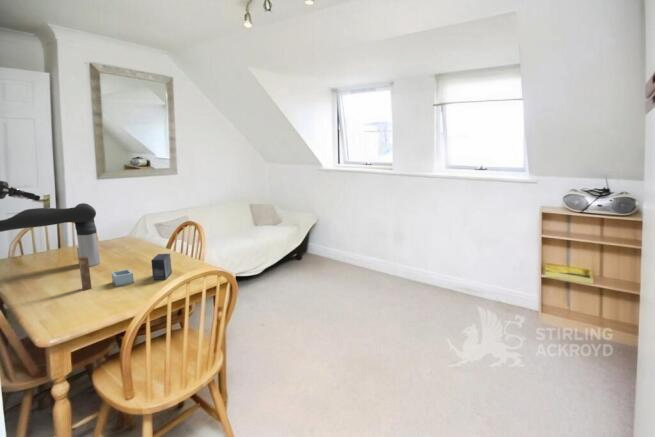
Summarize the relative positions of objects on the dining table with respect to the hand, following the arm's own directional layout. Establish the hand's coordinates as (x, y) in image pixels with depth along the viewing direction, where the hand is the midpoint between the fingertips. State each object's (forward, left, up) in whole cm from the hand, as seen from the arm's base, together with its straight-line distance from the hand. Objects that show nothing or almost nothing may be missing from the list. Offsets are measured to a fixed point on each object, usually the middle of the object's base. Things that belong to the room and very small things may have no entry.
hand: (37, 197), depth 173 cm
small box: (+38, +28, -43) cm, 64 cm away
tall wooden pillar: (+14, +6, -42) cm, 45 cm away
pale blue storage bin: (+25, +16, -42) cm, 52 cm away
